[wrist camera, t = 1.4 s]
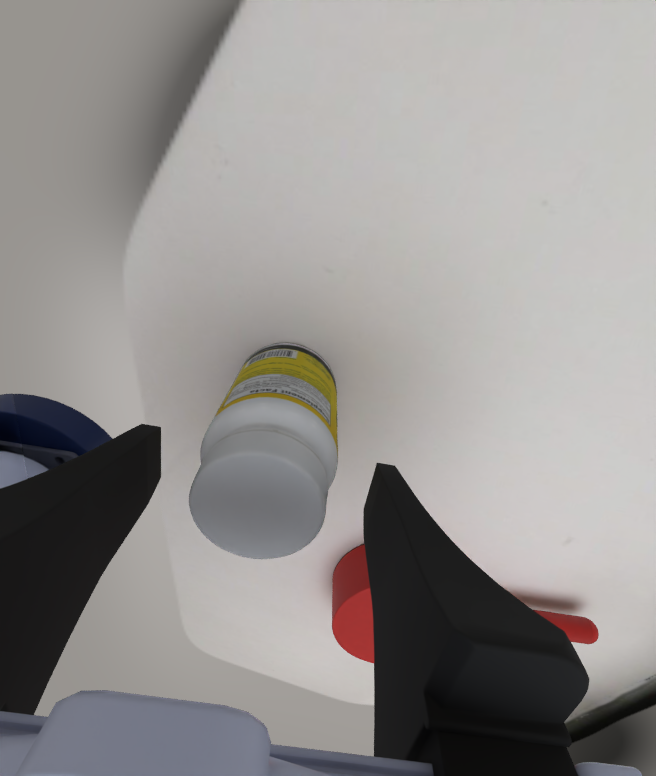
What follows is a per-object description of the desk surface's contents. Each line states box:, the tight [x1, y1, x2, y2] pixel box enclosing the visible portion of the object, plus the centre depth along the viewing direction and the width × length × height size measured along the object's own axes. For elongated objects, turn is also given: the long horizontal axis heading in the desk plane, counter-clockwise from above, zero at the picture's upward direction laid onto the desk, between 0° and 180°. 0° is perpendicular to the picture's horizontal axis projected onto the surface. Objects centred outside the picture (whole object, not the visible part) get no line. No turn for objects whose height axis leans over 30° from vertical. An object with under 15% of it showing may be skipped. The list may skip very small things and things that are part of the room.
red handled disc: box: [332, 544, 598, 663], centre depth 23 cm, size 16×7×3 cm, turn 80°
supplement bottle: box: [189, 343, 338, 559], centre depth 15 cm, size 5×5×8 cm
